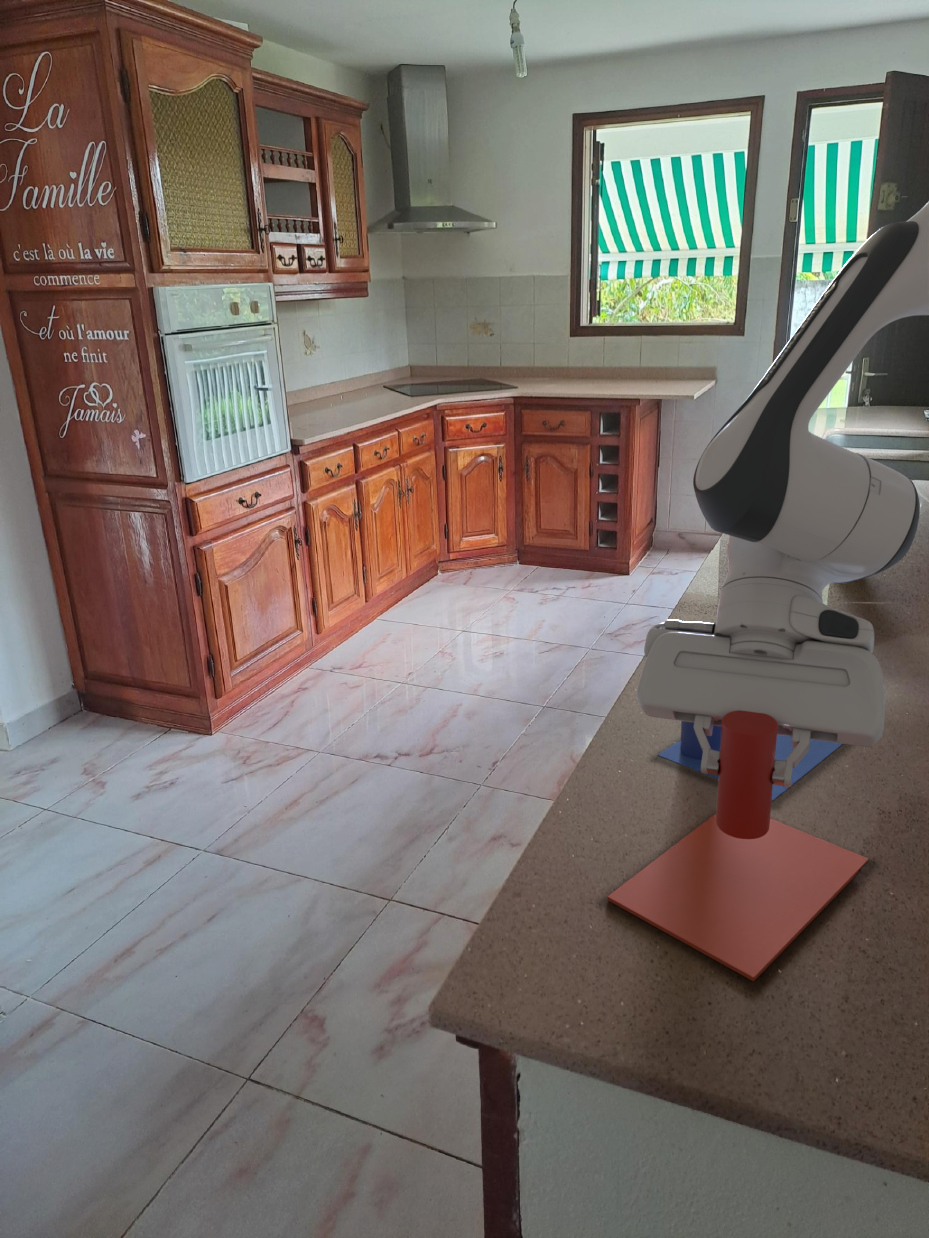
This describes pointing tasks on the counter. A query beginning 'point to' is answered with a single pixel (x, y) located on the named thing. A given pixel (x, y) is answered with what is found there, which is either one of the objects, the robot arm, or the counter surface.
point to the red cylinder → (746, 774)
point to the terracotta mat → (739, 891)
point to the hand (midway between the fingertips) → (745, 778)
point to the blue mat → (783, 750)
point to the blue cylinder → (691, 742)
